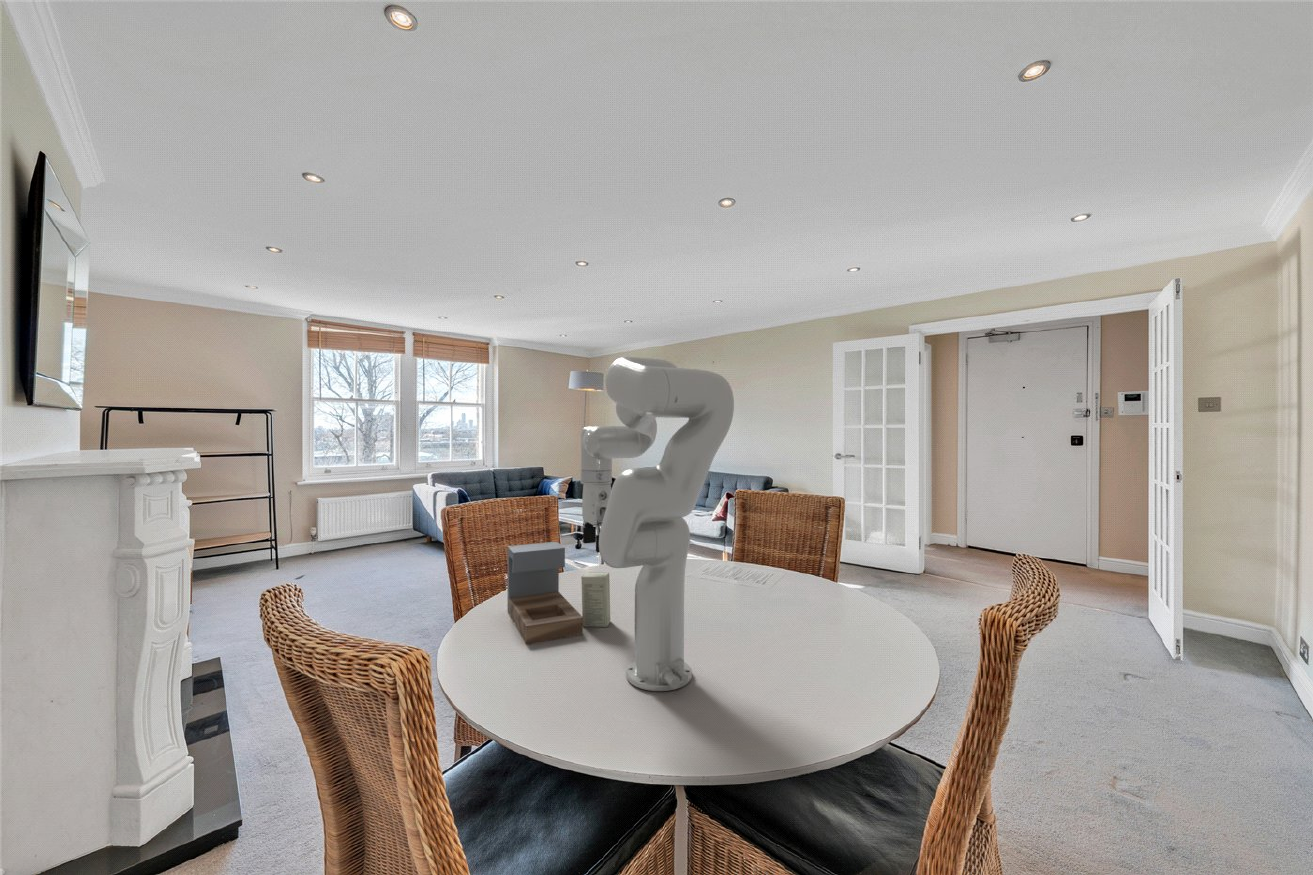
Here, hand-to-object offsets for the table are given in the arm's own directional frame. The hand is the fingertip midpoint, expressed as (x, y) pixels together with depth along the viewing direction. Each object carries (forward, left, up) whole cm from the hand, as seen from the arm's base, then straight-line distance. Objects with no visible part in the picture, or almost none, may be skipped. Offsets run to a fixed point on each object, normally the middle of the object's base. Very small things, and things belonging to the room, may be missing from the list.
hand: (595, 547), depth 129 cm
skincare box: (0, 0, -19) cm, 19 cm away
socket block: (+5, +11, -19) cm, 23 cm away
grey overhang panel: (+14, +12, -19) cm, 26 cm away
